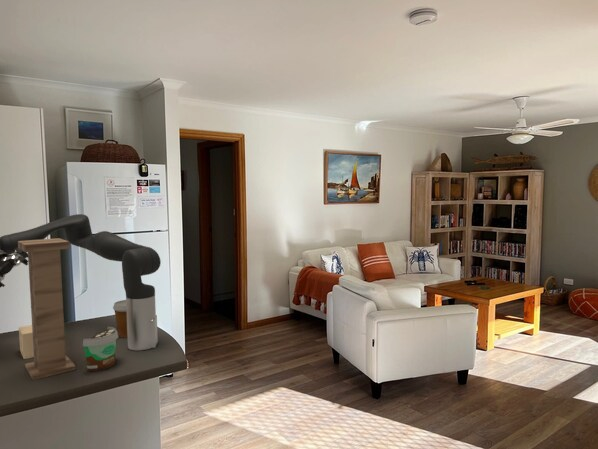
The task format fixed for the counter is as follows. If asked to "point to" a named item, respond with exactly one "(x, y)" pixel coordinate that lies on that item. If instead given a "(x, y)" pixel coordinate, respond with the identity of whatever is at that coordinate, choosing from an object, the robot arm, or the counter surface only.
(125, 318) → the disposable coffee cup
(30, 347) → the wooden mallet
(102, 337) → the food container
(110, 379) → the counter surface
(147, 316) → the robot arm
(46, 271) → the walnut stand
